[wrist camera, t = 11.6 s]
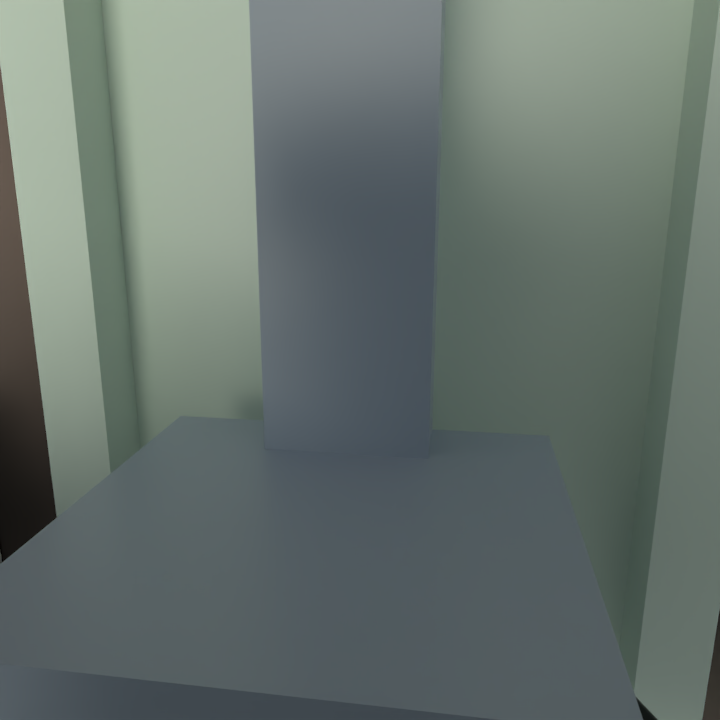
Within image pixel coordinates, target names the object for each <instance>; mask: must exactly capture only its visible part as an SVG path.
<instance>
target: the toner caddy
mask: <svg viewBox="0 0 720 720" xmlns="http://www.w3.org/2000/svg"><path fill="white" fill-rule="evenodd" d="M445 6H446V0H249V15H250V43H251V72H252V101H253V130H254V158H255V187H256V216H257V244H258V273H259V302H260V330H261V359H262V388H263V416H264V420H246V419H227V418H209V417H190V416H180V417H179V418H178V419H176V420H175V421H174V422H173V423H172V424H170V425H169V426H168V427H167V428H165V429H164V430H163V431H162V432H161V433H159V434H158V435H157V436H156V437H154V438H153V439H152V440H151V441H150V442H148V443H147V444H146V445H145V446H143V447H142V448H141V449H140V450H139V451H137V452H136V453H135V454H134V455H133V456H131V457H130V458H129V459H128V460H126V461H125V462H124V463H123V464H122V465H120V466H119V467H118V468H117V469H115V470H114V471H113V472H112V473H111V474H109V475H108V476H107V477H106V478H104V479H103V480H102V481H101V482H100V483H98V484H97V485H96V486H95V487H93V488H92V489H91V490H90V491H89V492H87V493H86V494H85V495H84V496H83V497H81V498H80V499H79V500H78V501H76V502H75V503H74V504H73V505H72V506H70V507H69V508H68V509H67V510H65V511H64V512H63V513H62V514H61V515H59V516H58V517H57V518H56V519H54V520H53V521H52V522H51V523H50V524H48V525H47V526H46V527H45V528H44V529H42V530H41V531H40V532H39V533H37V534H36V535H35V536H34V537H33V538H31V539H30V540H29V541H28V542H26V543H25V544H24V545H23V546H22V547H20V548H19V549H18V550H17V551H15V552H14V553H13V554H12V555H11V556H9V557H8V558H7V559H6V560H5V561H3V562H2V563H1V564H0V720H643V718H642V715H641V712H640V709H639V706H638V703H637V700H636V697H635V694H634V691H633V688H632V685H631V682H630V679H629V676H628V673H627V670H626V667H625V664H624V661H623V658H622V655H621V652H620V649H619V646H618V643H617V639H616V636H615V633H614V630H613V627H612V624H611V621H610V618H609V615H608V612H607V609H606V606H605V603H604V600H603V597H602V594H601V591H600V588H599V585H598V582H597V579H596V576H595V573H594V570H593V567H592V564H591V561H590V558H589V555H588V552H587V549H586V546H585V543H584V540H583V537H582V534H581V531H580V528H579V525H578V522H577V519H576V516H575V513H574V510H573V507H572V504H571V501H570V498H569V495H568V492H567V489H566V486H565V483H564V480H563V477H562V474H561V471H560V468H559V465H558V462H557V459H556V456H555V453H554V450H553V447H552V444H551V441H550V438H549V436H543V435H524V434H506V433H487V432H469V431H450V430H432V423H433V391H434V359H435V327H436V295H437V263H438V230H439V198H440V166H441V134H442V102H443V70H444V38H445Z"/></svg>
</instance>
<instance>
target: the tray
mask: <svg viewBox="0 0 720 720" xmlns="http://www.w3.org/2000/svg"><path fill="white" fill-rule="evenodd" d="M0 66H1V74H2V82H3V90H4V98H5V106H6V114H7V122H8V130H9V138H10V146H11V154H12V162H13V170H14V178H15V186H16V194H17V202H18V210H19V218H20V226H21V235H22V243H23V251H24V259H25V267H26V275H27V283H28V291H29V299H30V307H31V315H32V323H33V331H34V339H35V347H36V355H37V363H38V371H39V379H40V387H41V395H42V403H43V411H44V420H45V428H46V436H47V444H48V452H49V460H50V468H51V476H52V484H53V492H54V500H55V508H56V516H57V517H58V516H59V515H61V514H62V513H63V512H64V511H65V510H67V509H68V508H69V507H70V506H72V505H73V504H74V503H75V502H76V501H78V500H79V499H80V498H81V497H83V496H84V495H85V494H86V493H87V492H89V491H90V490H91V489H92V488H93V487H95V486H96V485H97V484H98V483H100V482H101V481H102V480H103V479H104V478H106V477H107V476H108V475H109V474H111V473H112V472H113V471H114V470H115V469H117V468H118V467H119V466H120V465H122V464H123V463H124V462H125V461H126V460H128V459H129V458H130V457H131V456H133V455H134V454H135V453H136V452H137V451H139V450H140V449H141V448H142V447H143V446H145V445H146V444H147V443H148V442H150V441H151V440H152V439H153V438H154V437H156V436H157V435H158V434H159V433H161V432H162V431H163V430H164V429H165V428H167V427H168V426H169V425H170V424H172V423H173V422H174V421H175V420H176V419H178V418H179V417H180V416H190V417H209V418H227V419H246V420H264V416H263V388H262V359H261V330H260V302H259V273H258V244H257V216H256V187H255V158H254V130H253V101H252V72H251V43H250V15H249V0H0ZM432 430H450V431H469V432H487V433H506V434H524V435H543V436H549V438H550V441H551V444H552V447H553V450H554V453H555V456H556V459H557V462H558V465H559V468H560V471H561V474H562V477H563V480H564V483H565V486H566V489H567V492H568V495H569V498H570V501H571V504H572V507H573V510H574V513H575V516H576V519H577V522H578V525H579V528H580V531H581V534H582V537H583V540H584V543H585V546H586V549H587V552H588V555H589V558H590V561H591V564H592V567H593V570H594V573H595V576H596V579H597V582H598V585H599V588H600V591H601V594H602V597H603V600H604V603H605V606H606V609H607V612H608V615H609V618H610V621H611V624H612V627H613V630H614V633H615V636H616V639H617V643H618V646H619V649H620V652H621V655H622V658H623V661H624V664H625V667H626V670H627V673H628V676H629V679H630V682H631V685H632V688H633V691H634V694H635V696H636V697H637V698H638V699H639V700H640V701H641V702H642V704H643V705H644V706H645V707H646V708H647V709H648V710H649V711H650V712H651V713H652V714H653V715H654V716H655V717H656V718H657V719H658V720H702V718H703V712H704V706H705V699H706V693H707V686H708V680H709V674H710V667H711V661H712V655H713V648H714V642H715V636H716V629H717V623H718V616H719V610H720V0H446V6H445V38H444V70H443V102H442V134H441V166H440V198H439V230H438V263H437V295H436V327H435V359H434V391H433V423H432Z"/></svg>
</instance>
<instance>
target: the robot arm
mask: <svg viewBox="0 0 720 720" xmlns="http://www.w3.org/2000/svg"><path fill="white" fill-rule="evenodd" d="M635 697H636V696H635ZM636 700H637V703H638V706H639V709H640V712H641V715H642V718H643V720H658V719H657V718H656V717H655V716H654V715H653V714H652V713H651V712H650V711H649V710H648V709H647V708H646V707H645V706H644V705H643V704H642V702H641V701H640V700H639V699H638V698H637V697H636Z"/></svg>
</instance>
